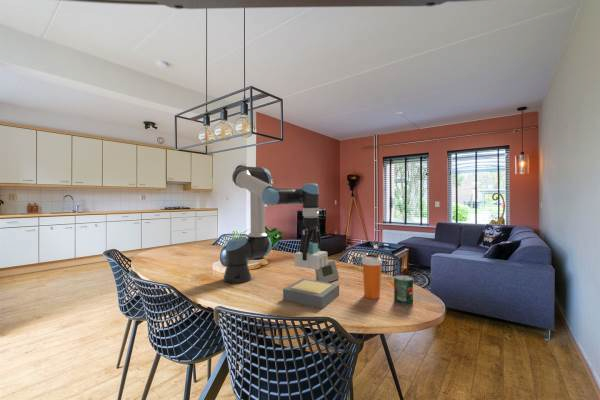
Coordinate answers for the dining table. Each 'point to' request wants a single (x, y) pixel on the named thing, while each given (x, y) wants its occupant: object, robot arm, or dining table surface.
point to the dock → (311, 293)
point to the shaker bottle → (372, 275)
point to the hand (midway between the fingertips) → (311, 264)
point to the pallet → (312, 259)
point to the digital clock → (327, 272)
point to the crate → (313, 248)
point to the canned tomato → (403, 290)
